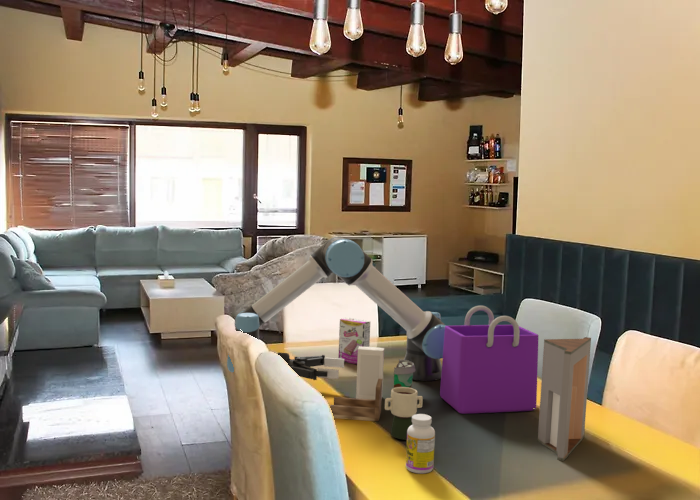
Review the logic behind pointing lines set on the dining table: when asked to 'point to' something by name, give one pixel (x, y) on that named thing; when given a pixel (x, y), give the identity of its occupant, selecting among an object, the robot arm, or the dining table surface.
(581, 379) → the grey tall angular block
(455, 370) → the shopping bag
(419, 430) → the supplement bottle
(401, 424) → the character mug
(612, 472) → the dining table surface
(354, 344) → the candy bar box
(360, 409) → the wooden holder
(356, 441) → the dining table surface
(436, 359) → the robot arm
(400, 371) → the food container
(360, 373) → the white rectangular box
